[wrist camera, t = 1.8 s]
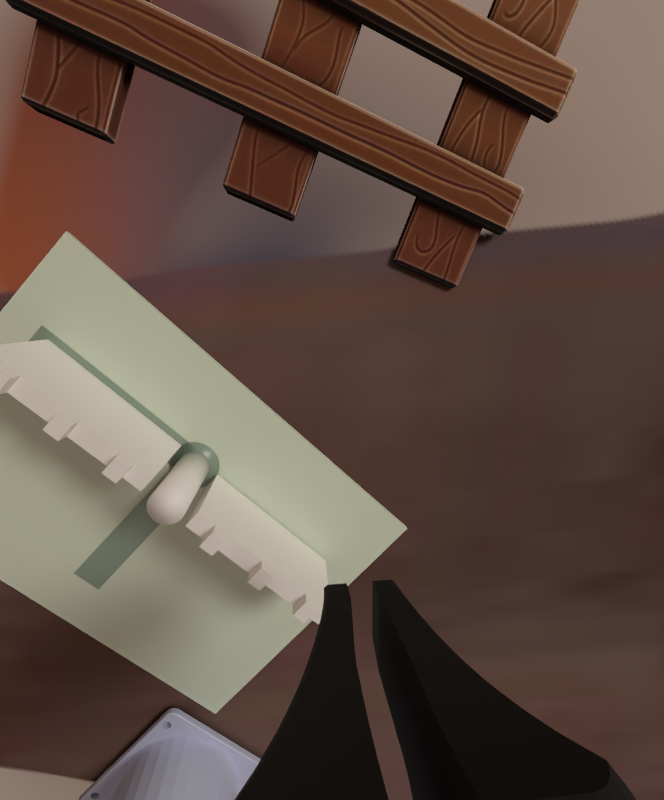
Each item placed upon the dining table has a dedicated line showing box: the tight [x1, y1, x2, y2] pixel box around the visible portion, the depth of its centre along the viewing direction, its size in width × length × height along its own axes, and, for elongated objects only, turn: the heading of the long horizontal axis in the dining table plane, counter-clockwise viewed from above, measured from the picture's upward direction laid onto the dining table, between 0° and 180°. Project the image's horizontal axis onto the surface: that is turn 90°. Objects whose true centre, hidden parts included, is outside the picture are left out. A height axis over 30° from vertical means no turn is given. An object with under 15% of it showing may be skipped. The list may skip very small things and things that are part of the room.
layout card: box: [0, 231, 407, 714], centre depth 21 cm, size 17×23×1 cm
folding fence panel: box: [186, 475, 328, 624], centre depth 19 cm, size 8×1×5 cm, turn 46°
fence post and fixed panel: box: [0, 339, 210, 525], centre depth 18 cm, size 2×10×5 cm, turn 46°
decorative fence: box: [6, 0, 579, 288], centre depth 17 cm, size 23×2×15 cm
